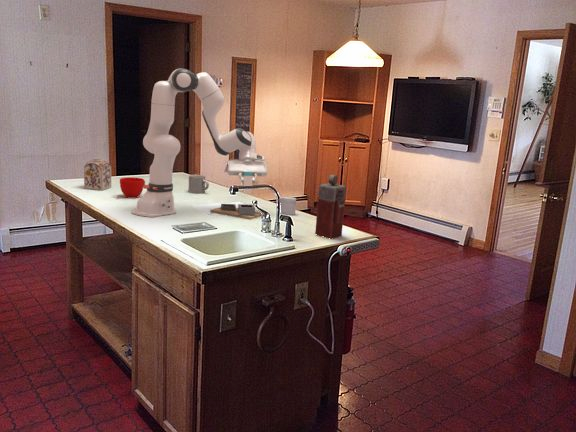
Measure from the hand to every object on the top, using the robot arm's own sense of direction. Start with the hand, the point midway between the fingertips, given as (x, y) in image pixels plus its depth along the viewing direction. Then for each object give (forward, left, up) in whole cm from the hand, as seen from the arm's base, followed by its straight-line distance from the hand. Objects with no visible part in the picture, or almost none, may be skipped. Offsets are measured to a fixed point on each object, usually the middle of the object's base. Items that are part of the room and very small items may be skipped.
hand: (248, 181), depth 264 cm
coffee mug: (+33, +54, -18) cm, 66 cm away
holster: (+3, +13, -17) cm, 21 cm away
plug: (+1, 0, -6) cm, 6 cm away
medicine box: (+19, -14, -18) cm, 30 cm away
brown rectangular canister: (-8, -50, -18) cm, 53 cm away
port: (0, 0, -17) cm, 17 cm away
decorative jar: (0, +103, -18) cm, 105 cm away
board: (+1, +6, -18) cm, 19 cm away
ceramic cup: (-3, +72, -18) cm, 75 cm away
